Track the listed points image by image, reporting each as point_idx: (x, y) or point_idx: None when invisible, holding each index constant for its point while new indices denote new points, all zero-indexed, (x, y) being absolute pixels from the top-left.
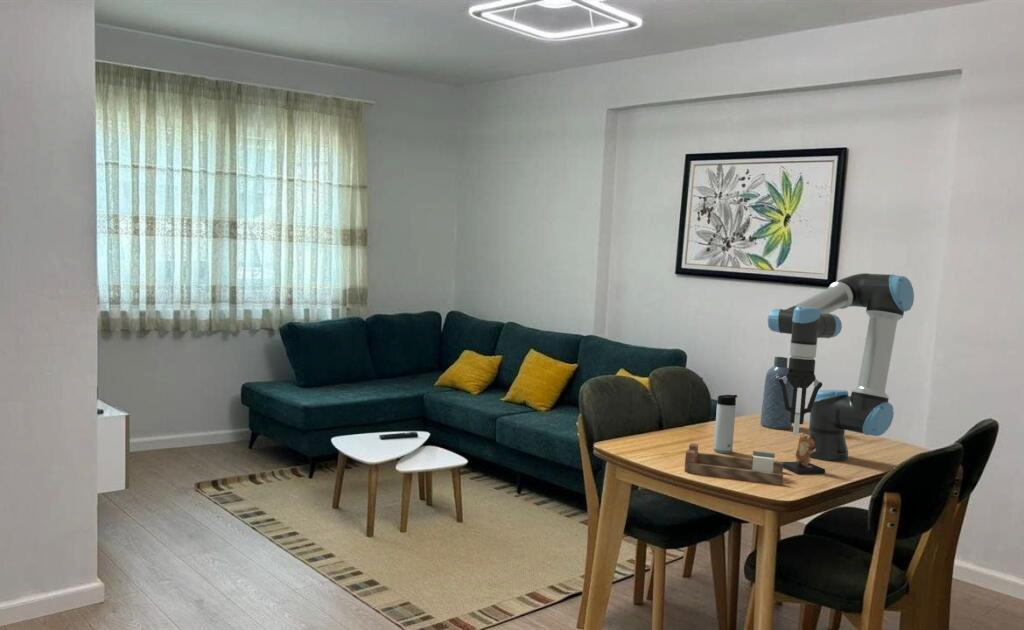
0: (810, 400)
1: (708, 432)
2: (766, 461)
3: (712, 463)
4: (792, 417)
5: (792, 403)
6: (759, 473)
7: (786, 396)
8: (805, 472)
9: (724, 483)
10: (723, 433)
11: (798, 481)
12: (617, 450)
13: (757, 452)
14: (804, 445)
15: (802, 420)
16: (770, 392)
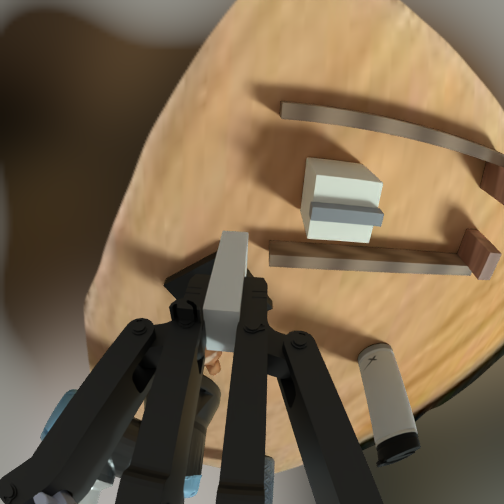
0: (107, 394)
1: (357, 425)
2: (337, 174)
3: (432, 252)
4: (255, 301)
5: (262, 378)
6: (356, 112)
7: (323, 428)
8: (209, 257)
9: (435, 70)
10: (392, 376)
11: (229, 169)
12: None
13: (369, 211)
14: None
15: (193, 289)
16: (265, 496)
